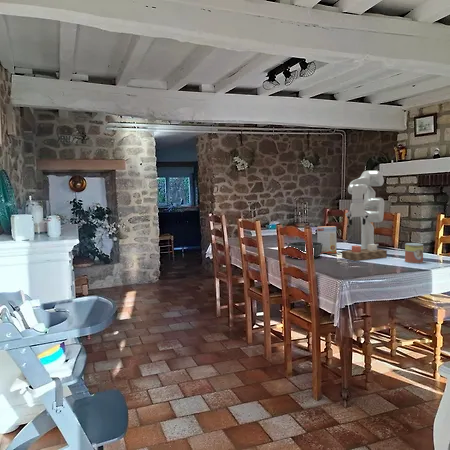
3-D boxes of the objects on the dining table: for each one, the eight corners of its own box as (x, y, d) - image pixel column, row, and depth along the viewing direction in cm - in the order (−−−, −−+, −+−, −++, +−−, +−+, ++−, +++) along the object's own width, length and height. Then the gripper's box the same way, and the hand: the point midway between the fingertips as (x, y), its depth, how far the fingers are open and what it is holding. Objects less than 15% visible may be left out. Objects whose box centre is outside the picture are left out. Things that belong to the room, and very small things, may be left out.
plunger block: (373, 254, 310) (373, 248, 310) (386, 257, 297) (386, 250, 297) (342, 257, 300) (342, 251, 300) (354, 260, 287) (354, 253, 287)
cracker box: (335, 252, 325) (335, 225, 323) (336, 253, 319) (336, 226, 317) (317, 252, 327) (317, 226, 325) (318, 253, 321) (318, 226, 319)
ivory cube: (372, 249, 304) (372, 244, 303) (376, 250, 300) (376, 244, 299) (367, 250, 302) (367, 244, 302) (371, 251, 298) (371, 245, 298)
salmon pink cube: (356, 251, 299) (356, 245, 298) (360, 252, 295) (360, 246, 294) (351, 252, 297) (351, 245, 297) (355, 252, 293) (355, 246, 293)
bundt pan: (283, 254, 322) (282, 241, 321) (315, 253, 325) (315, 240, 324) (292, 260, 295) (292, 246, 294) (328, 258, 299) (328, 245, 298)
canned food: (411, 263, 273) (411, 245, 271) (401, 260, 284) (401, 243, 282) (426, 262, 275) (427, 244, 274) (415, 259, 286) (416, 242, 285)
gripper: (367, 201, 307) (367, 224, 308) (344, 201, 306) (343, 224, 308) (371, 201, 299) (370, 224, 301) (347, 201, 299) (347, 225, 300)
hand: (357, 224), depth 304 cm, fingers open, 9 cm apart
